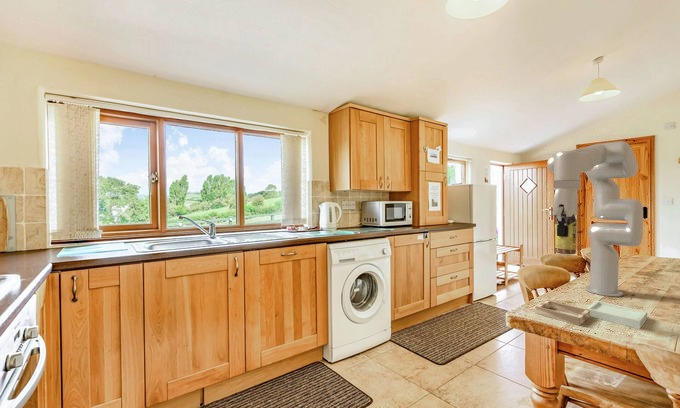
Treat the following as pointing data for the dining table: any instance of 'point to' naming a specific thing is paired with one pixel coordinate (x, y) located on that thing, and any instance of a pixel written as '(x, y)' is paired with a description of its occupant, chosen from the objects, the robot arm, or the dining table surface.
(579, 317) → the tan flat square frame
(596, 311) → the shallow square tray
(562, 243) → the sauce bottle
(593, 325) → the dining table surface
